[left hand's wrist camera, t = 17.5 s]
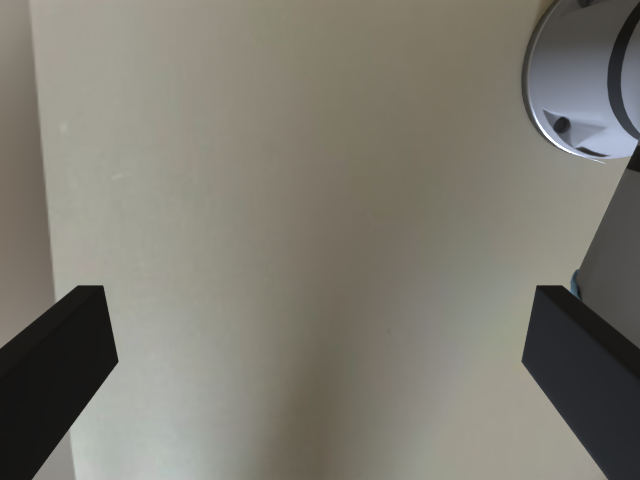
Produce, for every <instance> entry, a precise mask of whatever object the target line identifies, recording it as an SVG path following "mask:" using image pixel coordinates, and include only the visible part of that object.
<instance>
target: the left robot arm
mask: <svg viewBox="0 0 640 480" xmlns="http://www.w3.org/2000/svg"><path fill="white" fill-rule="evenodd" d="M522 95H523V101H524V105H525V108H526V111H527V114H528V116H529V118H530V120H531V122H532V124H533V126H534V127H535V128H536V130H537V131H538V132H539V134H540V135H541V136H542V137H543V138H544V139H545V140H547V141H548V142H549V143H550V144H552V145H553V146H555V147H557V148H559V149H561V150H563V151H565V152H568V153H571V154H575V155H579V156H583V157H586V158H587V157H588V158H589V159H590V158H604V159H609V158H621V157H627V156H631V155H632V157H631V159H630V161H629V163H628V165H627V168H626V169H625V171H624V173H623V175H622V178H621V180H620V182H619V184H618V186H617V188H616V191H615V193H614V195H613V197H612V199H611V201H610V204H609V206H608V208H607V210H606V212H605V214H604V217H603V219H602V221H601V223H600V225H599V227H598V230H597V232H596V234H595V236H594V238H593V241H592V243H591V245H590V247H589V249H588V251H587V254H586V256H585V258H584V260H583V262H582V264H581V267H580V269H578V270H576V271H575V272H574V274H573V276H572V279H571V289H570V292H569V291H568V290H567V289H566V288H565V287H563V286H562V285H537V287H536V292H535V297H534V302H533V307H532V312H531V317H530V322H529V327H528V332H527V337H526V342H525V346H524V351H523V356H522V361H521V362H522V363H523V364H524V366H525V367H526V369H527V370H528V371H529V373H530V374H531V375H532V377H533V378H534V379H535V381H536V382H537V383H538V385H539V386H540V388H541V389H542V390H543V392H544V393H545V394H546V396H547V397H548V398H549V400H550V401H551V403H552V404H553V405H554V407H555V408H556V409H557V411H558V412H559V413H560V415H561V416H562V417H563V419H564V420H565V422H566V423H567V424H568V426H569V427H570V428H571V430H572V431H573V432H574V434H575V435H576V436H577V438H578V439H579V441H580V442H581V443H582V445H583V446H584V447H585V449H586V450H587V451H588V453H589V454H590V455H591V457H592V458H593V460H594V461H595V462H596V464H597V465H598V466H599V468H600V469H601V470H602V472H603V473H604V474H605V476H606V477H607V479H608V480H640V0H555V1H554V2H553V4H552V5H551V6H550V7H549V8H548V10H547V11H546V13H545V14H544V15H543V17H542V18H541V20H540V22H539V23H538V25H537V27H536V28H535V31H534V33H533V35H532V37H531V39H530V42H529V44H528V47H527V50H526V54H525V58H524V63H523V69H522ZM592 160H593V159H592ZM595 161H597V160H595ZM599 162H600V161H599ZM602 163H603V162H602ZM118 362H119V361H118V356H117V351H116V346H115V342H114V337H113V332H112V327H111V322H110V317H109V312H108V307H107V302H106V297H105V292H104V287H103V285H78V286H77V287H75V288H74V289H73V290H72V291H71V292H69V293H68V294H67V295H66V296H64V297H63V298H62V299H61V300H59V301H58V302H57V303H56V304H55V305H53V306H52V307H51V308H50V309H48V310H47V311H46V312H45V313H44V314H42V315H41V316H40V317H39V318H37V319H36V320H35V321H34V322H33V323H31V324H30V325H29V326H28V327H26V328H25V329H24V330H23V331H21V332H20V333H19V334H18V335H17V336H15V337H14V338H13V339H12V340H10V341H9V342H8V343H7V344H6V345H4V346H3V347H2V348H1V349H0V480H32V479H33V477H34V476H35V474H36V473H37V472H38V470H39V469H40V468H41V466H42V465H43V464H44V462H45V461H46V460H47V458H48V457H49V455H50V454H51V453H52V451H53V450H54V449H55V447H56V446H57V445H58V443H59V442H60V440H61V439H62V438H63V436H64V435H65V434H66V432H67V431H68V430H69V428H70V427H71V426H72V424H73V423H74V422H75V420H76V419H77V417H78V416H79V415H80V413H81V412H82V411H83V409H84V408H85V407H86V405H87V404H88V403H89V401H90V400H91V398H92V397H93V396H94V394H95V393H96V392H97V390H98V389H99V388H100V386H101V385H102V383H103V382H104V381H105V379H106V378H107V377H108V375H109V374H110V373H111V371H112V370H113V369H114V367H115V366H116V364H117V363H118Z"/></svg>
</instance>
